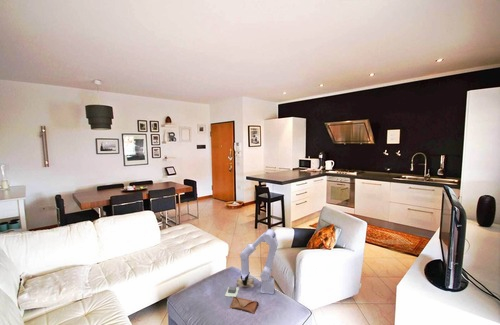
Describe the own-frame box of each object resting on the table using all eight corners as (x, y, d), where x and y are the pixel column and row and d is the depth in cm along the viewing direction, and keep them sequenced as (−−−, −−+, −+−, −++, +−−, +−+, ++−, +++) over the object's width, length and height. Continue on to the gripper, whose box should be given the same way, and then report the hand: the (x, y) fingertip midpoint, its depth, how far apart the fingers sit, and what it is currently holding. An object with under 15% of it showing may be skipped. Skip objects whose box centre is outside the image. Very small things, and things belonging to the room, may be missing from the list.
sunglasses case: (228, 308, 146) (230, 296, 149) (232, 307, 152) (233, 295, 155) (255, 314, 141) (256, 302, 143) (257, 312, 147) (259, 301, 149)
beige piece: (253, 284, 170) (253, 278, 170) (253, 287, 167) (253, 281, 167) (237, 284, 172) (237, 277, 171) (237, 286, 169) (237, 280, 168)
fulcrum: (239, 288, 166) (239, 284, 166) (236, 297, 156) (235, 293, 156) (228, 287, 168) (228, 283, 167) (224, 296, 158) (224, 292, 158)
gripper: (241, 260, 176) (242, 277, 177) (237, 271, 162) (238, 289, 163) (250, 261, 175) (251, 278, 176) (247, 272, 161) (247, 290, 162)
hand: (245, 283), depth 169 cm, fingers open, 3 cm apart
